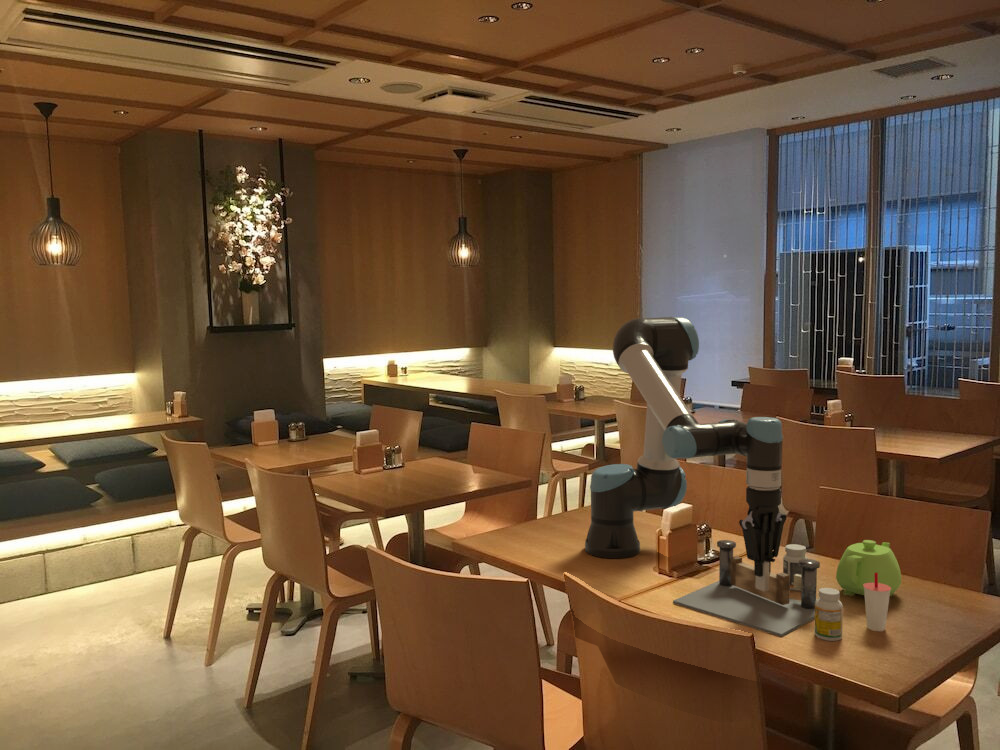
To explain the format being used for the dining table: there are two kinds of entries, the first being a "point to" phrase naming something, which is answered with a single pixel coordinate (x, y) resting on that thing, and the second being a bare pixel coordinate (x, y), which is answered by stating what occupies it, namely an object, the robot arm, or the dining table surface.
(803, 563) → the post
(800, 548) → the pill bottle
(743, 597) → the base board
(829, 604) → the supplement bottle
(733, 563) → the wooden block
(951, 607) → the dining table surface
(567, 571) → the dining table surface
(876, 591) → the cup
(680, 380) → the robot arm
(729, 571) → the hinge post
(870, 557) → the teapot
